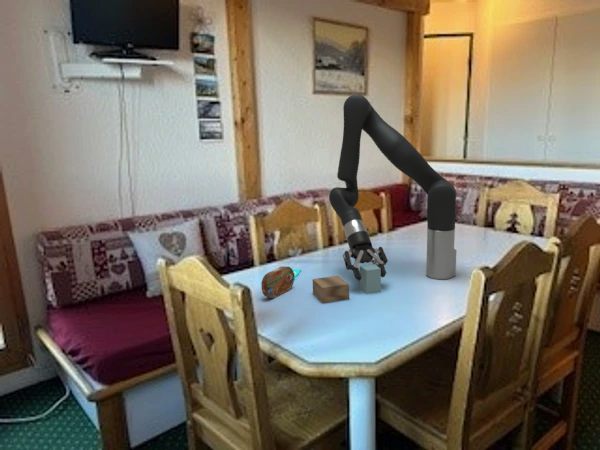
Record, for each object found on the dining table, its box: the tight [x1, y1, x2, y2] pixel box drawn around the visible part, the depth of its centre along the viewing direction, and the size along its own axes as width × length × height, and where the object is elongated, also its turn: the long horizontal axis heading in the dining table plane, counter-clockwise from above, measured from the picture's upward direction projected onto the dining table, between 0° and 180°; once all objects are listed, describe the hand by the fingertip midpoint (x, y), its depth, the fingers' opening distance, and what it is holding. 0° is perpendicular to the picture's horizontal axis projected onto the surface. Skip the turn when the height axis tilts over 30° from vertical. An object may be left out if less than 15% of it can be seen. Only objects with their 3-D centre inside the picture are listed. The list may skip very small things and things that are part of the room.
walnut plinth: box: [312, 275, 350, 304], centre depth 152 cm, size 9×9×5 cm
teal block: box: [359, 264, 382, 295], centre depth 155 cm, size 5×5×8 cm
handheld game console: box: [291, 268, 303, 281], centre depth 172 cm, size 10×16×1 cm, turn 165°
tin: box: [261, 265, 295, 299], centre depth 155 cm, size 15×3×8 cm, turn 146°
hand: (371, 277), depth 154 cm, fingers open, 8 cm apart
